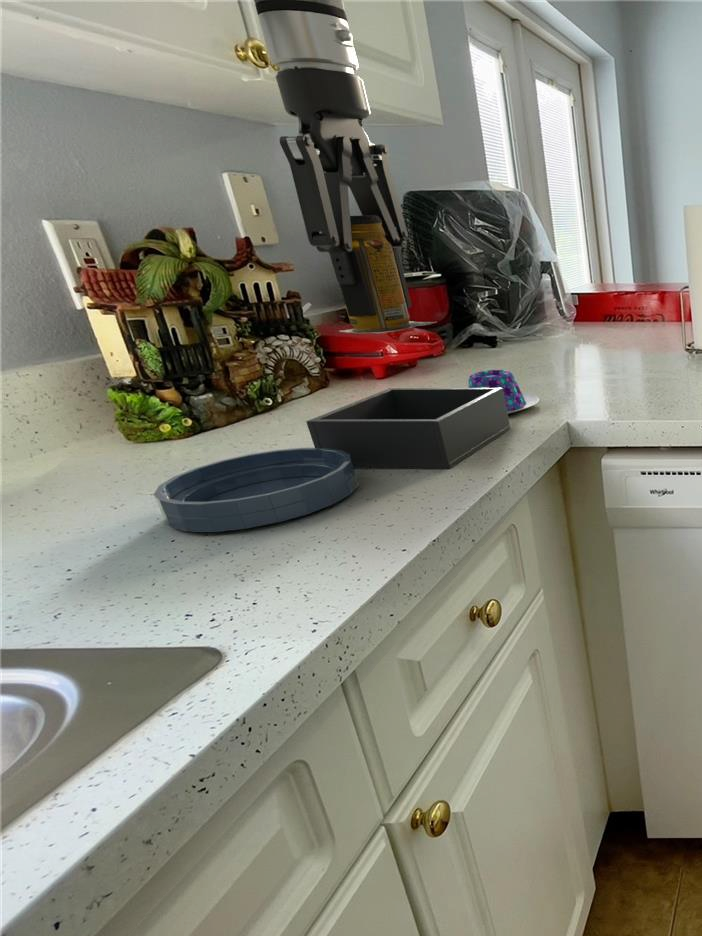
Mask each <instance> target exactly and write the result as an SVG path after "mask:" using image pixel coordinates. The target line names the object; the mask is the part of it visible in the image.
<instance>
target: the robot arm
mask: <svg viewBox="0 0 702 936" xmlns="http://www.w3.org/2000/svg"><path fill="white" fill-rule="evenodd" d="M253 2H254V6H255V10H256V14H257V18H258V22H259V25H260V28H261V32H262V36H263V39H264V43H265V46H266V50H267V55H268V57H269V60H270V63H271V64H272V65H273V66H275V68H276V67H277V68H279V71H277V73H276V75H275V80H276V83H277V86H278V90H279V94H280V96H281V101H282V104H283V108H284V110H285V112H286V113H287V114H288V115H290V116H291V117H295V118H297V121H298V134H295V135H281V136H280V137H279V144H280V147H281V149H282V151H283V154H284V155H285V157H286V159H287V161H288V164H289V167H290V171H291V175H292V179H293V183H294V188H295V191H296V194H297V199H298V204H299V208H300V211H301V215H302V220H303V223H304V227H305V231H306V236H307V239H308V242H309V245H311V246H312V247H315V248H316V249H317V251H318V252H320V253H328V254H329V256H330V260H331V264H332V267H333V271H334V274H335V277H336V281H337V282H338V284H340V285H339V287H340V286H341V288H340V291H341V290H342V291H341V294H342V293H343V296H342V298H343V297H344V300H345V302H344V305H346V306H345V308H346V307H347V309H346V312H347V311H348V313H347V315H348V314H349V316H374V315H376V311H375V307H374V303H373V300H372V296H371V292H370V288H369V285H368V281H367V277H366V273H365V270H364V266H363V262H362V259H361V255H360V252H351V251H352V234H351V222H350V216H351V210H350V197H349V190H350V192H351V194H352V196H353V198H354V200H355V202H356V205H357V207H358V209H359V212H360V213H361V216H362V215H377V216H378V217H379V218H380V219H381V220H382V227H383V229H384V232H385V235H384V236H385V238H386V240H387V241H388V242H389V243H390V244H391V246H392V249H393V253H394V258H395V261H396V266H397V269H398V274H399V278H400V282H401V286H402V290H403V294H404V298H405V302H406V306H407V309H408V308H412V301H411V298H410V294H409V290H408V289H409V288H408V285H407V282H406V277H405V270H404V266H403V263H402V258H401V254H400V251H399V248H402V247H403V248H404V247H407V245H408V241H407V240H408V239H409V234H408V230H407V225H406V222H405V219H404V218H405V217H404V215H403V212H402V207H401V204H400V201H399V197H398V192H397V189H396V186H395V182H394V178H393V175H392V172H391V168H390V167H391V166H390V157H389V150H388V147H387V146H386V144H381V143H379V144H375V143H374V142H371V141H370V140H369V137H368V135H367V133H366V131H365V129H364V126H363V123H362V122H363V119H368V117H370V115H371V109H370V105H369V100H368V97H367V93H366V89H365V85H364V80H363V79H362V78H360V76H359V75H358V74H355V73H354V72H356V71H358V69H359V67H360V66H359V61H358V57H357V55H356V51H355V50H356V49H355V47H354V42H353V39H354V38H353V35H352V32H351V31H350V25H349V22H348V15H347V14H346V10H345V9H346V8H345V5H344V0H253ZM338 235H339V237H340V238H339V237H338ZM344 300H343V301H344ZM349 316H348V317H349Z"/></svg>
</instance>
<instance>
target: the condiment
mask: <svg viewBox="0 0 702 936" xmlns="http://www.w3.org/2000/svg"><path fill="white" fill-rule="evenodd" d="M350 222H351V234H352V251H351V252H360V255H361V259H362V262H363V266H364V270H365V273H366V277H367V281H368V285H369V288H370V292H371V296H372V300H373V303H374V307H375V311H376V315H374V316H349V314H348V311H347V307H346V304H344V307H345V310H346V313H347V316H348V319H349V322H350V323H349V324H350V325H351V327H353V328H351V329H345V330H340V332H341V333H349V334H350V333H351V334H379V335H380V334H384V333H393V332H396V331H397V332H398V331H399V332H400V331H404V330H409V329H413V328H417V327H423V326H429V325H432V324H435V323H436V321H414V320H412V321H411V320H410V314H409V311H408V310H409V309H408V308H407V306H406V302H405V298H404V294H403V290H402V286H401V282H400V278H399V274H398V269H397V266H396V261H395V258H394V253H393V249H392V246H391V244H390V243H389V242H388V241H387V240H386V238H385V236H384V235H385V232H384V229H383V227H382V220H381V219H380V218H379V217H378V216H377V215H362V214H361V215H350ZM338 237H339V235H338ZM339 238H340V237H339ZM338 284H339V283H338ZM339 288H340V291H341V296H342V300H343V302H344V303H345V300H344V297H343V293H342V290H341V286H340V284H339Z"/></svg>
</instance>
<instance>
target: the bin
mask: <svg viewBox="0 0 702 936" xmlns="http://www.w3.org/2000/svg"><path fill="white" fill-rule="evenodd" d="M305 422H306V426H307V428H308V429H307V430H308V431H309V435H310V438H311V440H312V444H313V448H329V449H336V450H342V451H344V452H346V453H348V454H350V455H351V459H352V462H353V465H354V468H355V469H405V470H406V469H413V470H415V469H417V470H418V469H421V470H422V469H423V470H426V469H427V470H428V469H429V470H432V469H433V470H441V469H442V470H450V469H452V468H453V467H455V466H457V465H459V464H460V463H461V462H462V461H464V460H465V459H467V458H469V457H470V456H472V455H473V454H475V453H476V452H478V451H479V450H481V449H483V448H485V446H488V445H489V444H491V443H492V442H493V441H494V440H496V439H498V438H499V437H501V436H502V435H505V433H507V432H509V431H510V430H511V429H512V427H511V423H510V418H509V414H508V413H507V408H506V403H505V398H504V393H503V388H468V387H409V388H408V387H390V388H387V389H384V390H381V391H378V392H377V393H374V394H372V395H369V396H366V397H363V398H362V399H360V400H357V401H354V402H352V403H349V404H346V405H344V406H341V407H339V408H336V409H334V410H331V411H328V412H326V413H324V414H321V415H318V416H317V417H313V418H310V419H308V420H306V421H305Z"/></svg>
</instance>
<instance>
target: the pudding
mask: <svg viewBox="0 0 702 936" xmlns="http://www.w3.org/2000/svg"><path fill="white" fill-rule="evenodd" d="M467 388H503V393H504V398H505V403H506V408H507V413H508V415H509V414H514V413H517V412H520V411H522V410H525V409H529V408H530V407H533V406H534V405H536V404H537V403H539V401H540V399H539V397H538V396H536V395H533V394H528V393H522V391H521V389H520V386H519V383H518V382H517V380H516V378H515V376H514V374H513V373H512V372H511V371H509V370H506V369H489V370H482V371H481V370H480V371H478V372H476V373H472V374H470V375H469V376H468V387H467Z"/></svg>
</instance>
